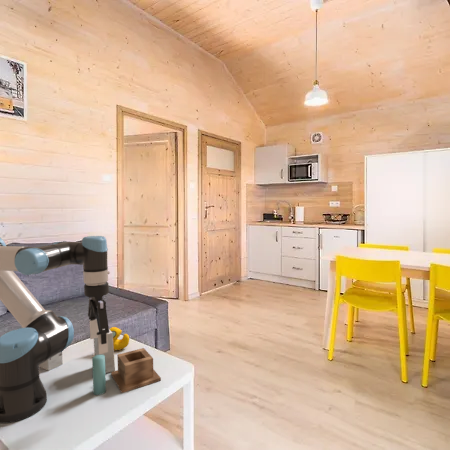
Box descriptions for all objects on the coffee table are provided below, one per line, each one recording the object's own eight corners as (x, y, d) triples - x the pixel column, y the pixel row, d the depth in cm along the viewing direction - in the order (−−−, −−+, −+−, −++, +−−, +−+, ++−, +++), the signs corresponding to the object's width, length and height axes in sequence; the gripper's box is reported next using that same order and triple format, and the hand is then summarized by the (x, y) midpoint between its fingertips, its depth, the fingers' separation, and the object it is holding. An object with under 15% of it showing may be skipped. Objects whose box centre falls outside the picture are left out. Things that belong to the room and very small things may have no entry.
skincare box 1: (48, 371, 124) (47, 352, 124) (39, 367, 127) (38, 348, 127) (63, 364, 130) (62, 346, 129) (53, 360, 133) (53, 343, 132)
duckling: (101, 354, 138) (100, 331, 137) (102, 348, 143) (102, 326, 143) (129, 350, 141) (128, 328, 140) (129, 345, 146) (129, 323, 146)
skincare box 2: (115, 371, 124) (114, 333, 123) (98, 375, 121) (97, 336, 120) (109, 362, 131) (108, 326, 130) (93, 366, 128) (92, 329, 127)
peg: (94, 396, 108) (93, 361, 107) (92, 390, 111) (91, 356, 111) (107, 392, 110) (106, 358, 109) (104, 386, 114) (103, 353, 113)
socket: (121, 393, 110) (121, 370, 109) (111, 374, 122) (110, 353, 121) (160, 380, 118) (160, 359, 117) (147, 364, 129) (146, 344, 129)
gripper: (118, 289, 100) (120, 356, 101) (99, 274, 121) (101, 330, 122) (92, 293, 96) (94, 363, 97) (77, 277, 117) (80, 335, 118)
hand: (98, 345), depth 110 cm, fingers open, 13 cm apart
